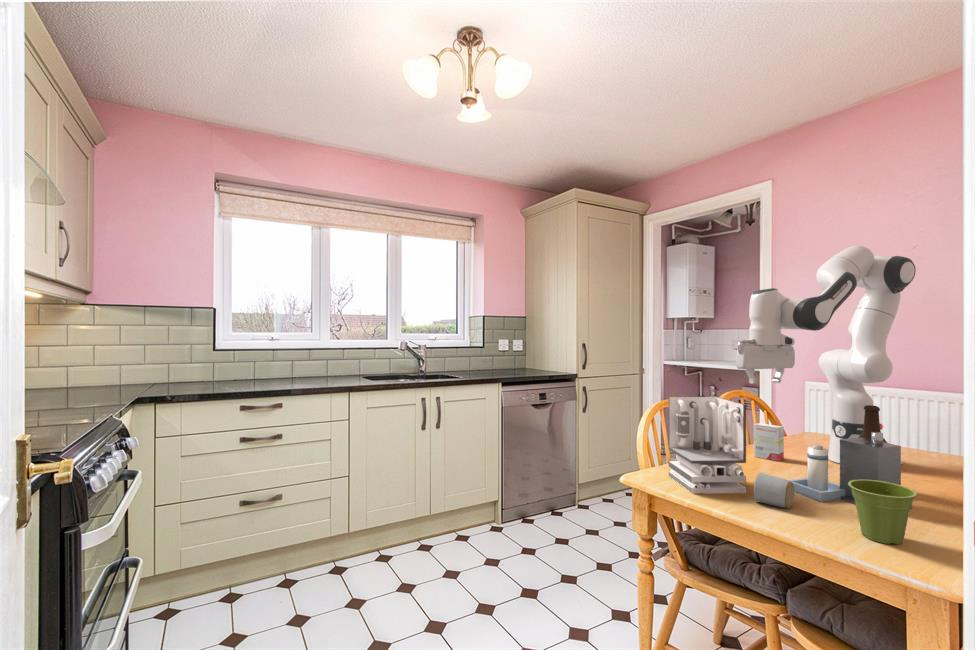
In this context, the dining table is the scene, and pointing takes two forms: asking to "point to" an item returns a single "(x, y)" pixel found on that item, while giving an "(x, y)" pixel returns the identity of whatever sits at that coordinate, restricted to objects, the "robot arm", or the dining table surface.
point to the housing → (868, 462)
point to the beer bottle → (871, 421)
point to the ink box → (769, 441)
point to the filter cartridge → (818, 468)
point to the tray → (821, 496)
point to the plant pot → (882, 509)
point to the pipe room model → (707, 444)
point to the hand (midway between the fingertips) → (765, 383)
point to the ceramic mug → (773, 490)
